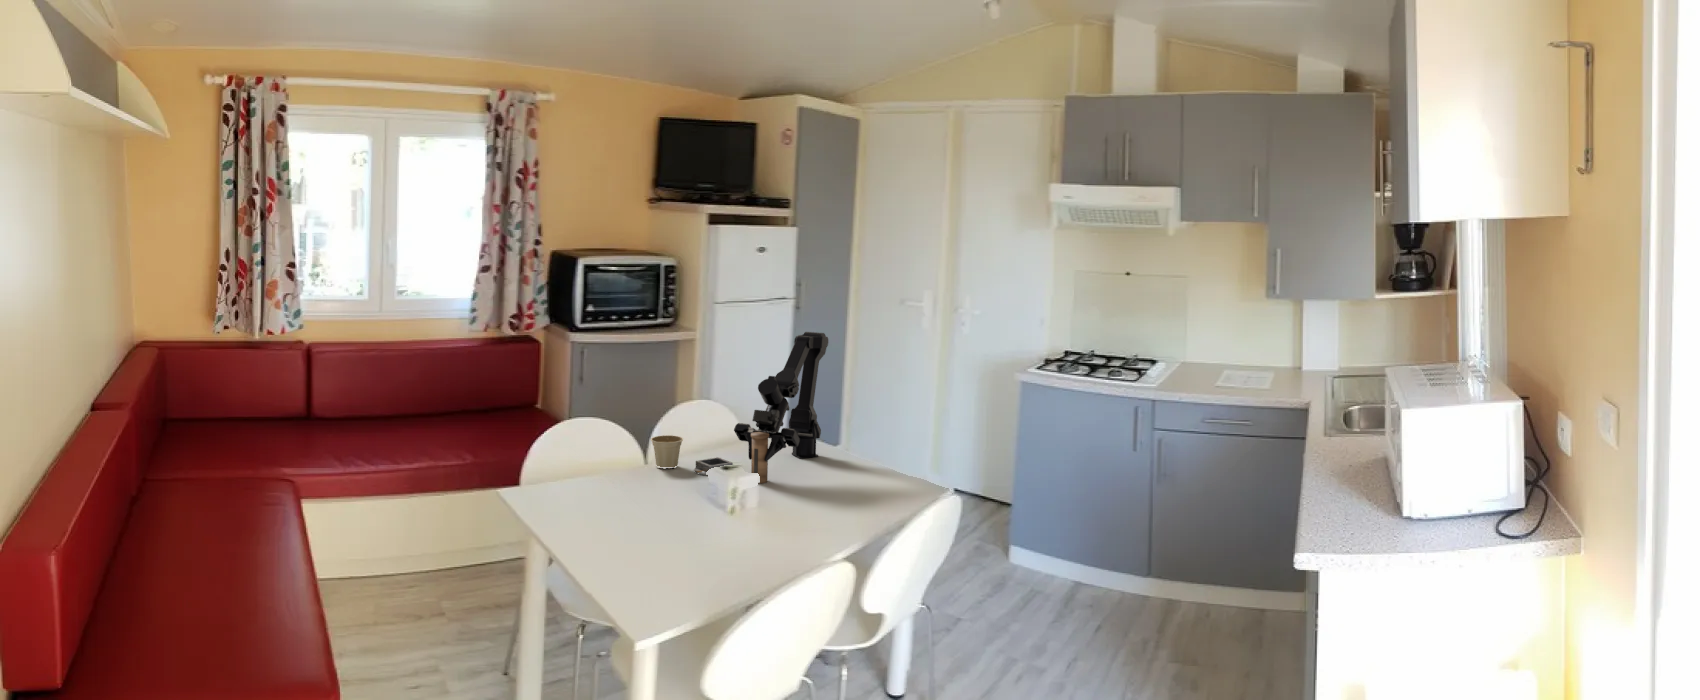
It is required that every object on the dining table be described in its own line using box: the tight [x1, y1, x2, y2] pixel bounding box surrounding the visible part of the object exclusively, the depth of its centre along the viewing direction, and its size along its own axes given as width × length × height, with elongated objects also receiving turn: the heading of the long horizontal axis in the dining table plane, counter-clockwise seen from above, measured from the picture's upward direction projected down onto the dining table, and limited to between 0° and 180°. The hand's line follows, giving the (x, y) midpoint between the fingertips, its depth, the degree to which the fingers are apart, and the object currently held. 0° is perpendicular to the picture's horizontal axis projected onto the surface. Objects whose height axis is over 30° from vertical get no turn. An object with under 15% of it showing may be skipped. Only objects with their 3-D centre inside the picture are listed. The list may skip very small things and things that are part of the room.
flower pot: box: [650, 434, 684, 467], centre depth 304 cm, size 9×9×9 cm
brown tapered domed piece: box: [750, 432, 770, 484], centre depth 291 cm, size 5×5×14 cm
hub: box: [693, 456, 734, 476], centre depth 302 cm, size 12×12×3 cm
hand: (757, 459), depth 290 cm, fingers closed on brown tapered domed piece, 5 cm apart
